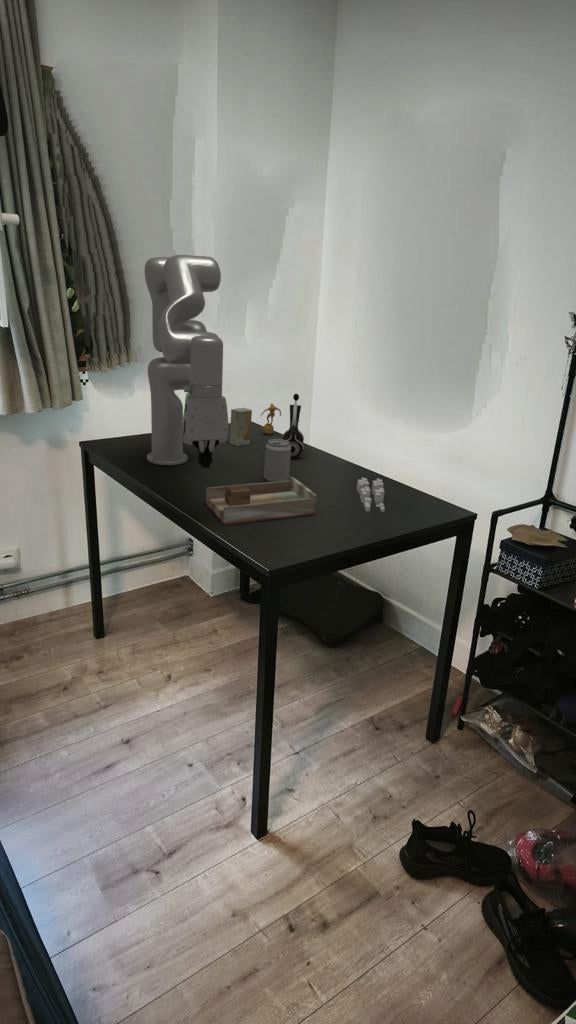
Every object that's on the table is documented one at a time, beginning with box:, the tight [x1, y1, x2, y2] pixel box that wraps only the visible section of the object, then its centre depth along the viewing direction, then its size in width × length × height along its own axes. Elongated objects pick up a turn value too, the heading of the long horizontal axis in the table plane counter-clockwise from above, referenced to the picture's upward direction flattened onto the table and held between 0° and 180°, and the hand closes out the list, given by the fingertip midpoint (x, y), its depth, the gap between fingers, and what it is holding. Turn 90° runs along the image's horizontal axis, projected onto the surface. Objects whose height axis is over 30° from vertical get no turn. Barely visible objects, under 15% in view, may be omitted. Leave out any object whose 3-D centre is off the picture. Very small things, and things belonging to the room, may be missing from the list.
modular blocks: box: [356, 476, 386, 513], centre depth 176 cm, size 20×7×4 cm, turn 1°
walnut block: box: [224, 483, 251, 506], centre depth 161 cm, size 5×5×4 cm
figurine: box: [260, 403, 282, 435], centre depth 232 cm, size 8×6×12 cm
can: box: [263, 438, 291, 482], centre depth 186 cm, size 8×8×12 cm
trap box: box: [205, 476, 318, 526], centre depth 165 cm, size 15×25×6 cm, turn 115°
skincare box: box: [229, 407, 253, 447], centre depth 218 cm, size 6×4×12 cm
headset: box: [281, 393, 305, 459], centre depth 210 cm, size 17×8×20 cm, turn 178°
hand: (204, 466), depth 154 cm, fingers closed
